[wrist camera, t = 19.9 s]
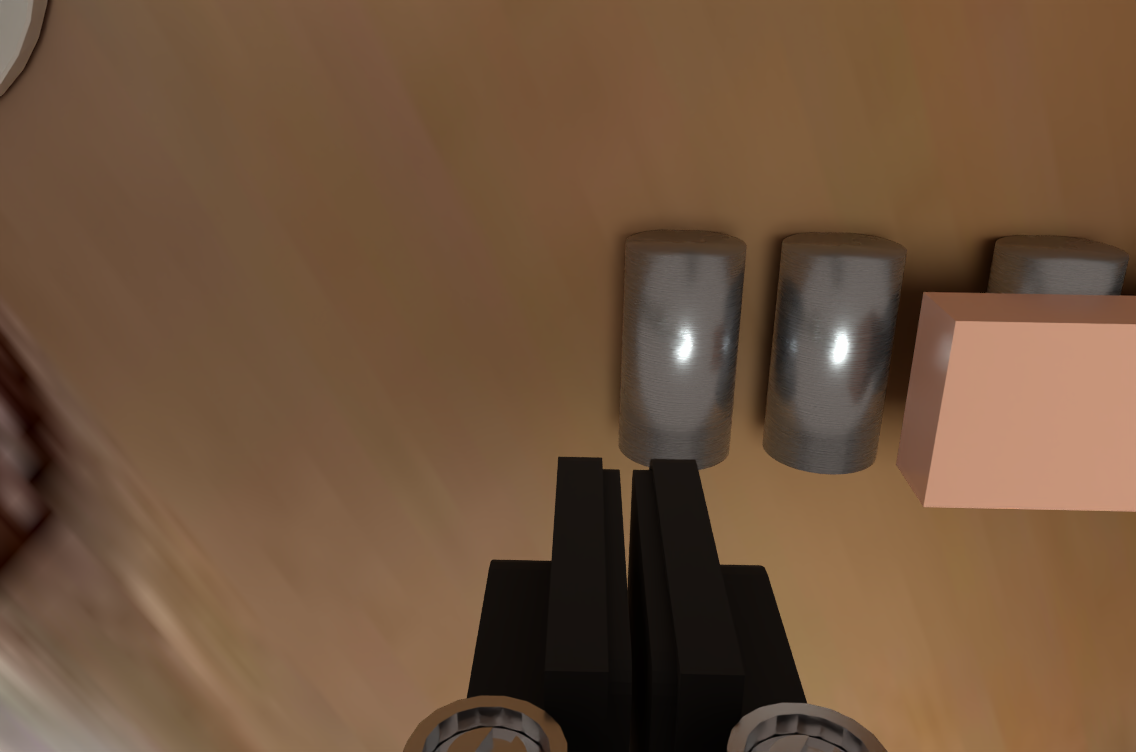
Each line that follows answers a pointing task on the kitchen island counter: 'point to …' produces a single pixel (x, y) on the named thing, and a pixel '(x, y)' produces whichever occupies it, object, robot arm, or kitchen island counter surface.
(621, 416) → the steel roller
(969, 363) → the terracotta slab
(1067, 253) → the loose steel roller
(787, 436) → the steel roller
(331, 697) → the kitchen island counter surface
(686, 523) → the robot arm
